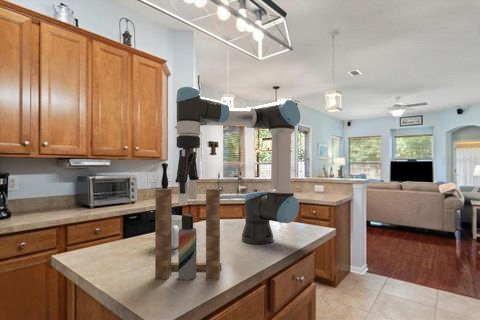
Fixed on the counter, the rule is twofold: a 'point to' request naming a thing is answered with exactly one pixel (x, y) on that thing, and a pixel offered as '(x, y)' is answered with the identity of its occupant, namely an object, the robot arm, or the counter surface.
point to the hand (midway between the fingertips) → (188, 201)
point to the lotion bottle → (187, 249)
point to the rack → (165, 235)
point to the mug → (176, 229)
